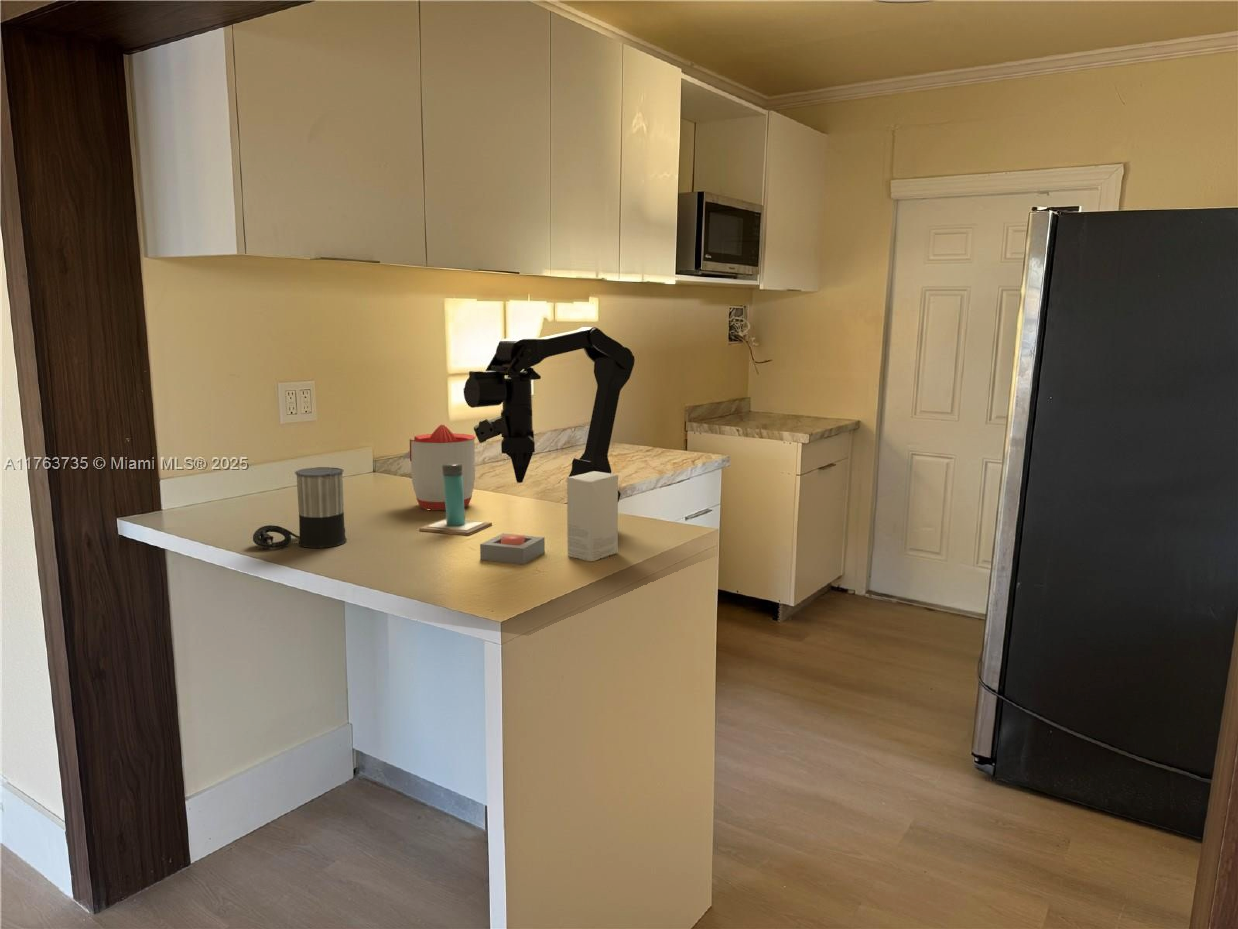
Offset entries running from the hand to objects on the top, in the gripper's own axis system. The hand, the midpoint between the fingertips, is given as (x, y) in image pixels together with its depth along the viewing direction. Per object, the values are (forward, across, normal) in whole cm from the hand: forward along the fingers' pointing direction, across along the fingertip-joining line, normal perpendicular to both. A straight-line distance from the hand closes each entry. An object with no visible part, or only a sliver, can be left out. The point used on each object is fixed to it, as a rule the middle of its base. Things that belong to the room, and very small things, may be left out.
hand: (519, 482), depth 168 cm
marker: (+12, -15, -14) cm, 24 cm away
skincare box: (+13, +10, +14) cm, 21 cm away
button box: (+12, +9, -2) cm, 15 cm away
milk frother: (+12, -4, -44) cm, 46 cm away
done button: (+12, +9, -2) cm, 15 cm away
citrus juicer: (+13, -38, -20) cm, 45 cm away
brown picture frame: (+13, -15, -14) cm, 24 cm away
